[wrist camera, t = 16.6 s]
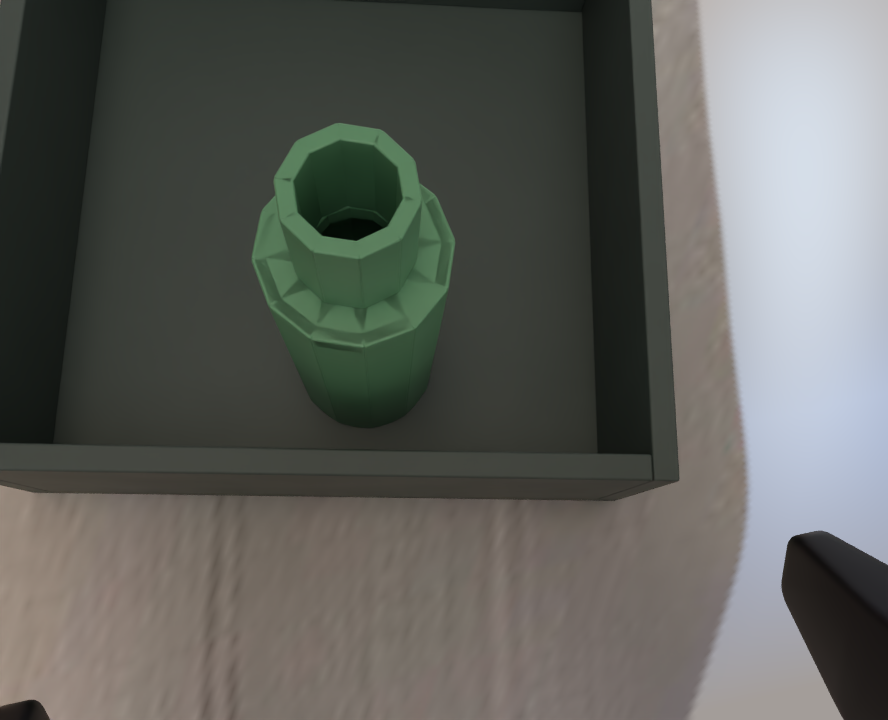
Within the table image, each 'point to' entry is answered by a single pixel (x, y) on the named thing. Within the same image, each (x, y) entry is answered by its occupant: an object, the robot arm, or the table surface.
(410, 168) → the bottle
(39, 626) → the table surface
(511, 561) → the table surface
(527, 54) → the bin
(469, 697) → the table surface
